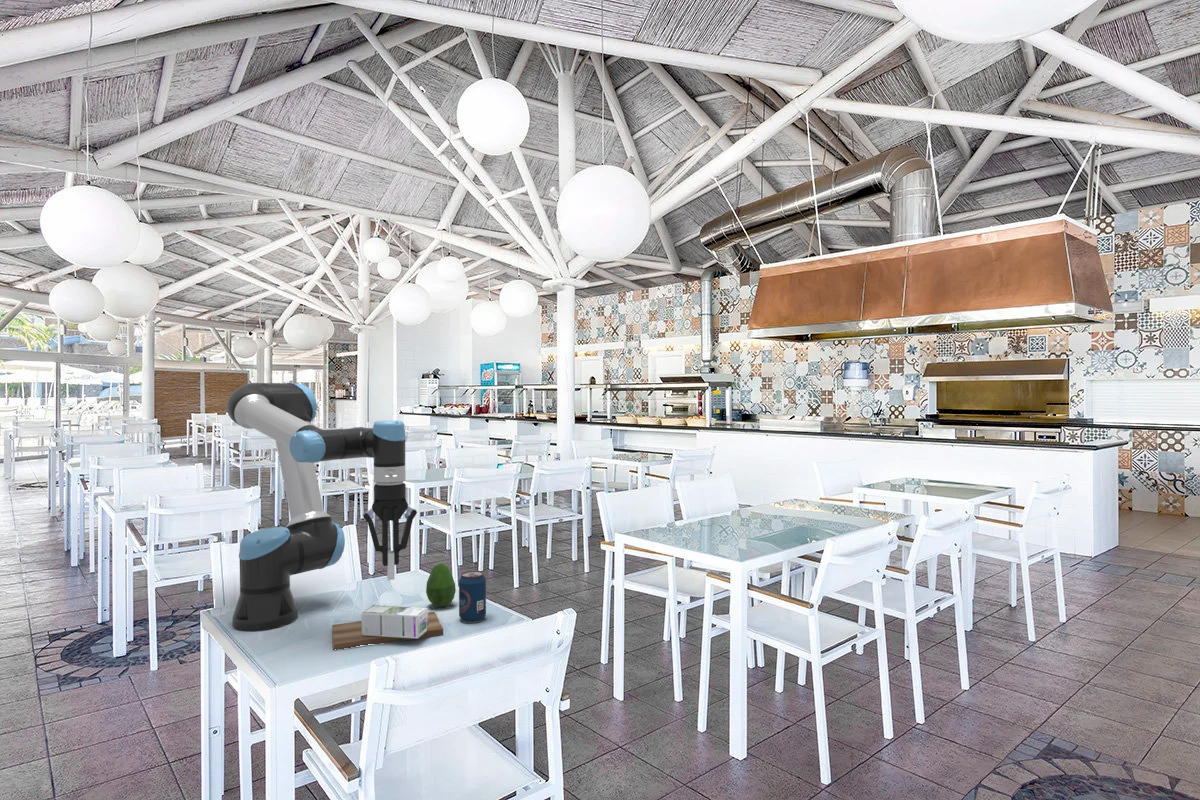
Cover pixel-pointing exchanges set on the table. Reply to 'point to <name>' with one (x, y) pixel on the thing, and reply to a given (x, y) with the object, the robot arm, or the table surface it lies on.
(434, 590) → the avocado
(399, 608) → the syrup box
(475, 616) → the soda can
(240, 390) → the robot arm
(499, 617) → the table surface
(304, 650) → the table surface
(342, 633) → the walnut board
